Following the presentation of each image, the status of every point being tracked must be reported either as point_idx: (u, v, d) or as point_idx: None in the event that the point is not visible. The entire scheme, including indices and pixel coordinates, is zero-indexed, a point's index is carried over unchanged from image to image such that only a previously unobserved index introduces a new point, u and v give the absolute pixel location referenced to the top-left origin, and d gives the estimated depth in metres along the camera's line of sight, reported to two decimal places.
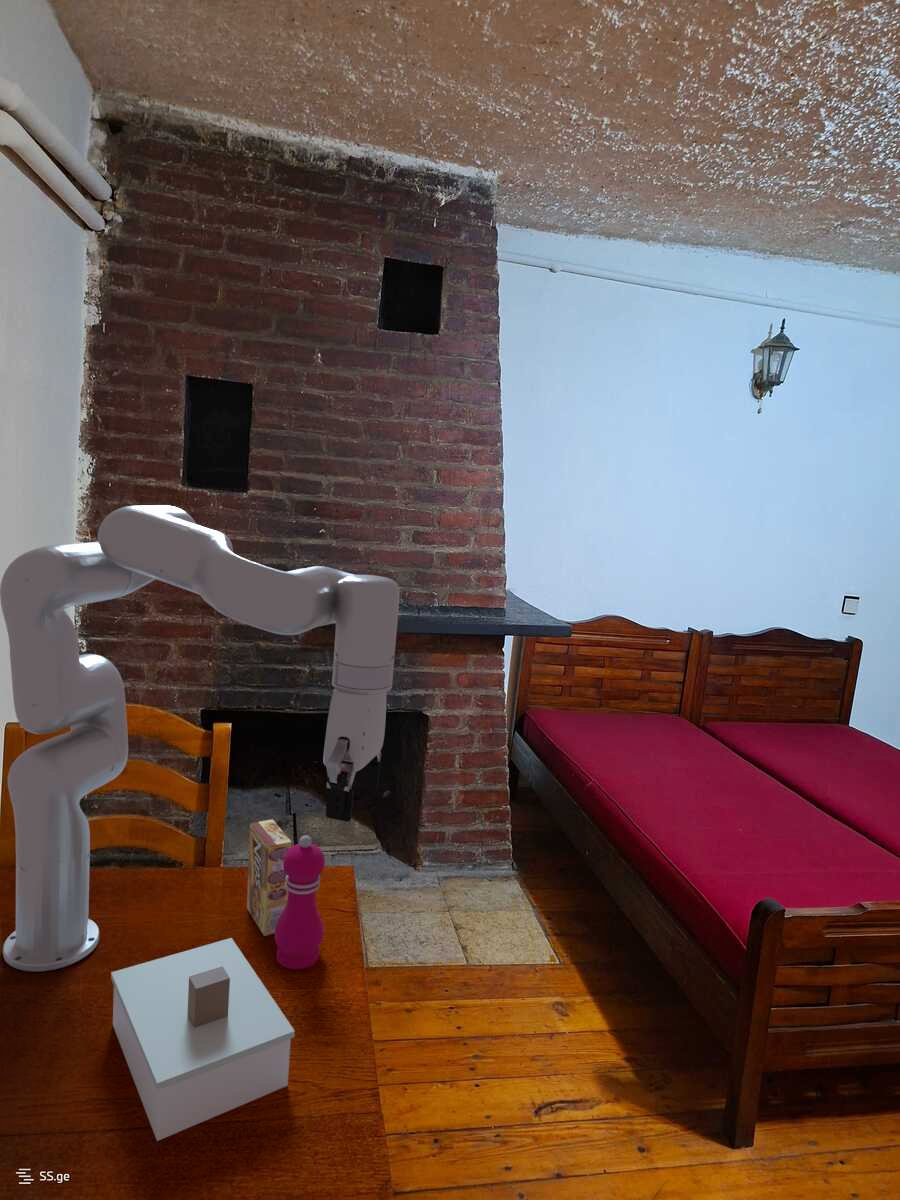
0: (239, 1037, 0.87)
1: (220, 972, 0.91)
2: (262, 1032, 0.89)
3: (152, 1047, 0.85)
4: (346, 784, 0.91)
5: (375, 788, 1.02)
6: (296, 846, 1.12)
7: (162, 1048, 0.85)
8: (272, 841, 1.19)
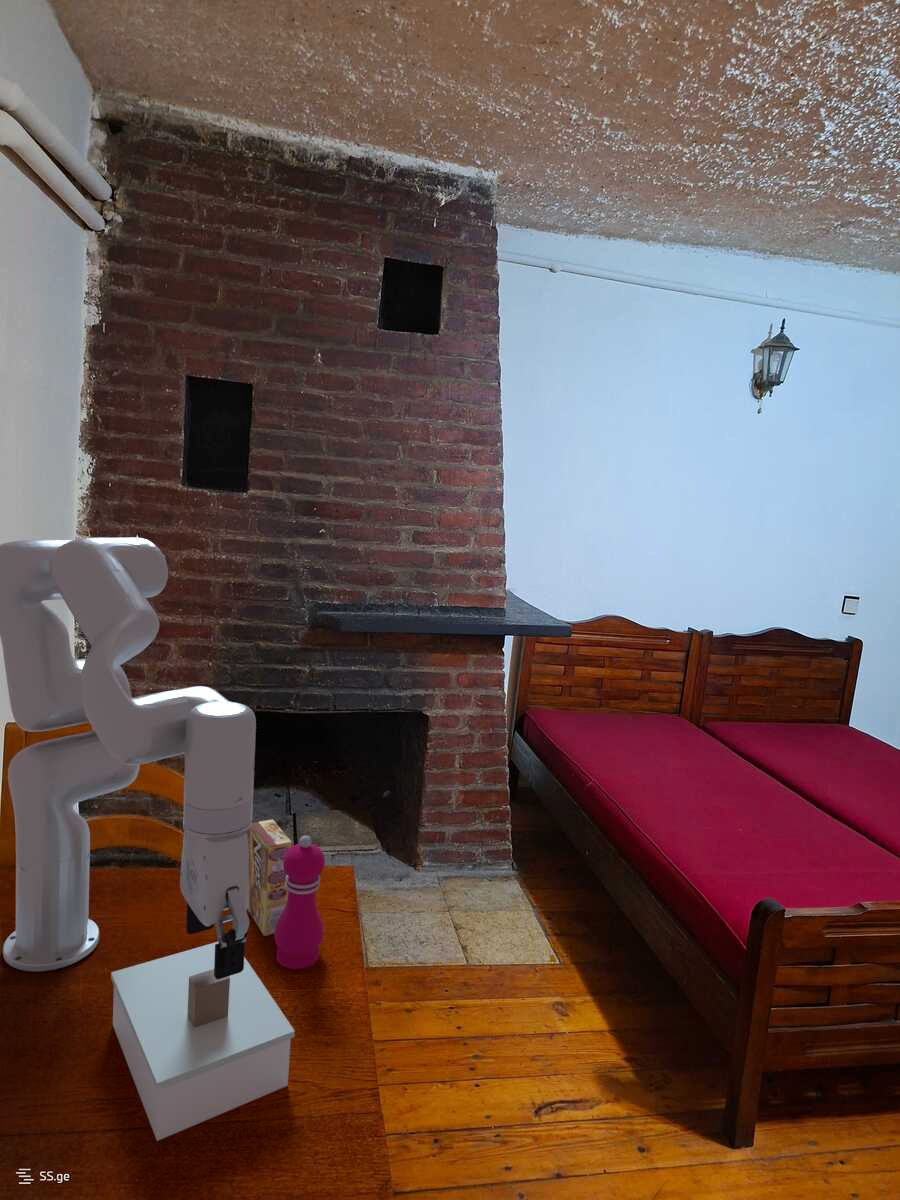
0: (239, 1037, 0.87)
1: None
2: (262, 1032, 0.89)
3: (152, 1047, 0.85)
4: None
5: (213, 924, 0.93)
6: (296, 846, 1.12)
7: (162, 1048, 0.85)
8: (272, 841, 1.19)
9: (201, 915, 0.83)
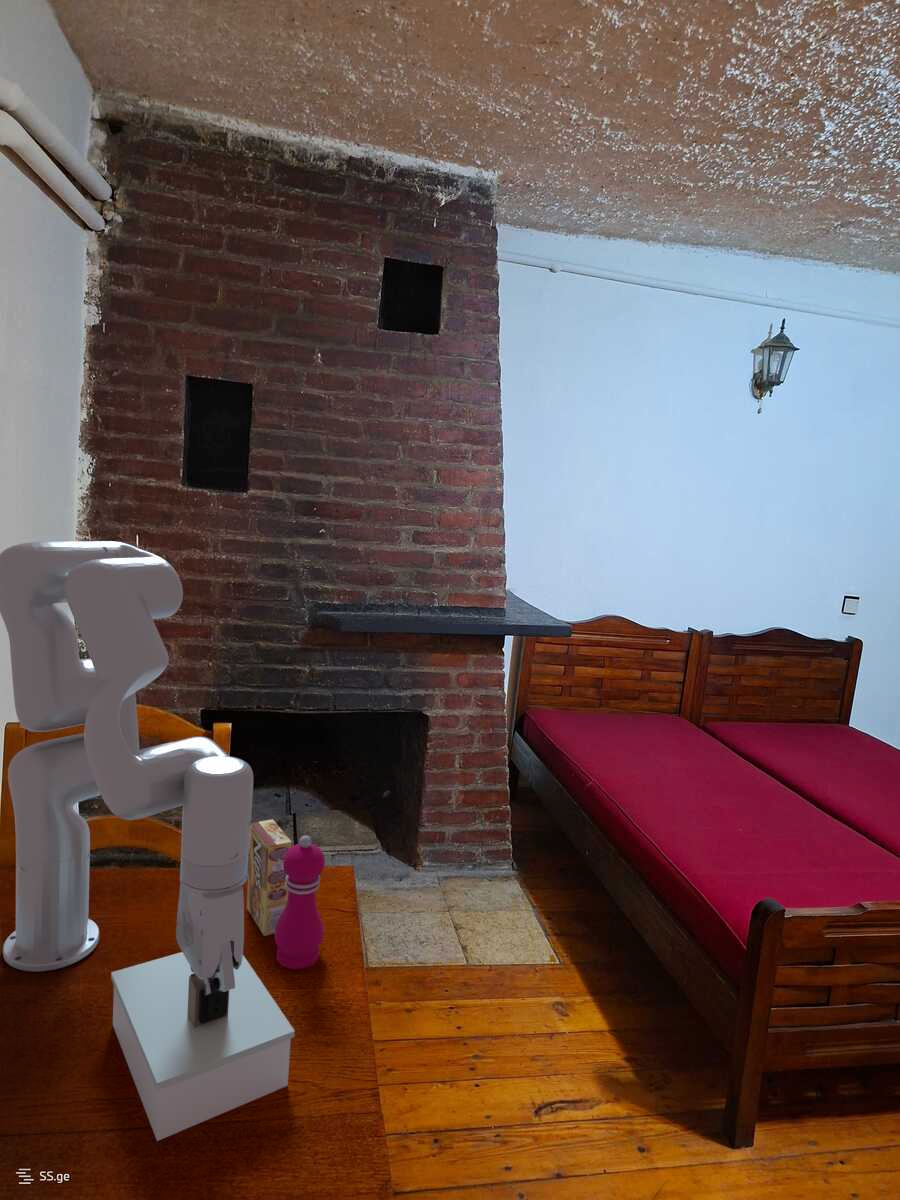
0: (239, 1037, 0.87)
1: None
2: (262, 1032, 0.89)
3: (152, 1047, 0.85)
4: None
5: None
6: (296, 846, 1.12)
7: (162, 1048, 0.85)
8: (272, 841, 1.19)
9: (196, 968, 0.85)
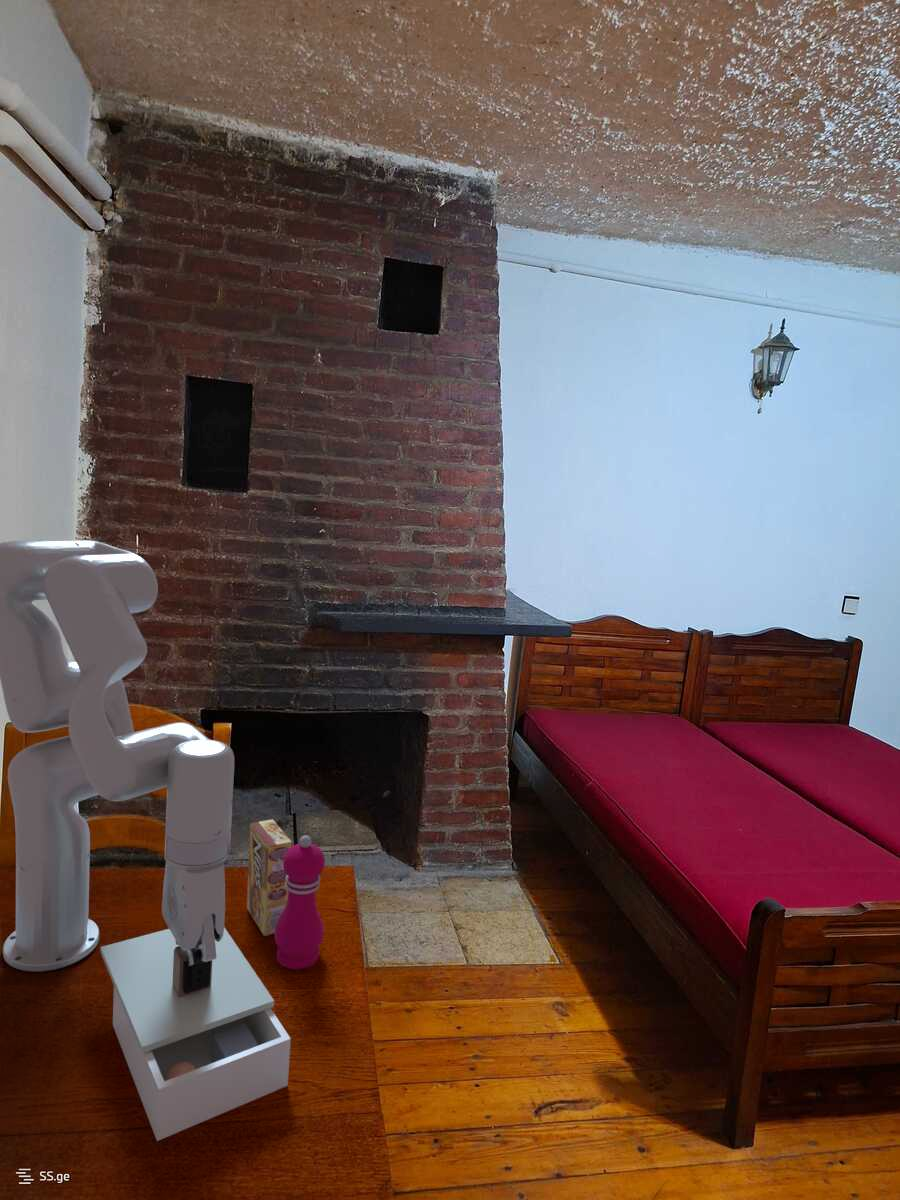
0: (221, 1006, 0.92)
1: None
2: (243, 1002, 0.93)
3: (138, 1014, 0.89)
4: None
5: None
6: (296, 846, 1.12)
7: (147, 1015, 0.89)
8: (272, 841, 1.19)
9: (180, 940, 0.89)
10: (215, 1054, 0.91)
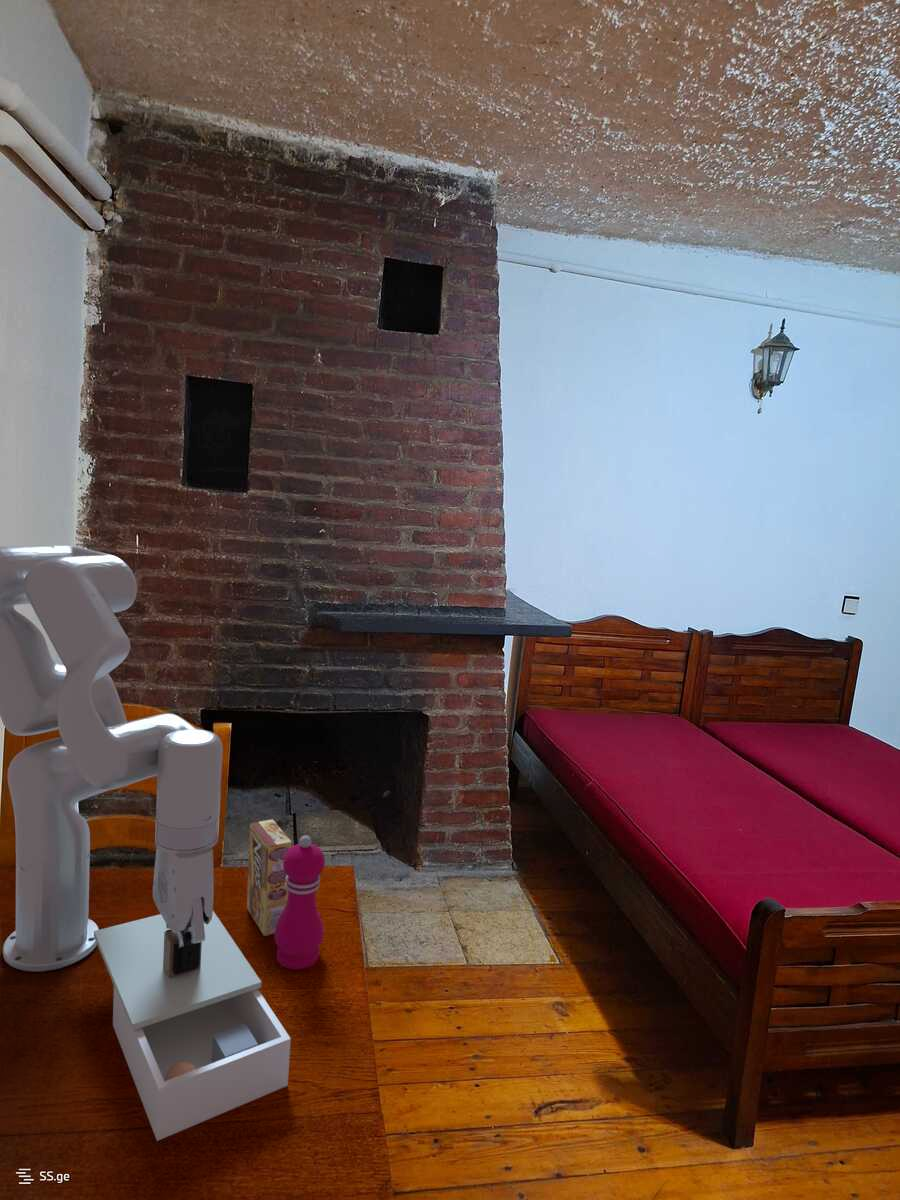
0: (210, 987, 0.95)
1: None
2: (231, 982, 0.96)
3: (129, 994, 0.93)
4: None
5: None
6: (296, 846, 1.12)
7: (138, 995, 0.93)
8: (272, 841, 1.19)
9: (170, 922, 0.93)
10: (215, 1054, 0.91)
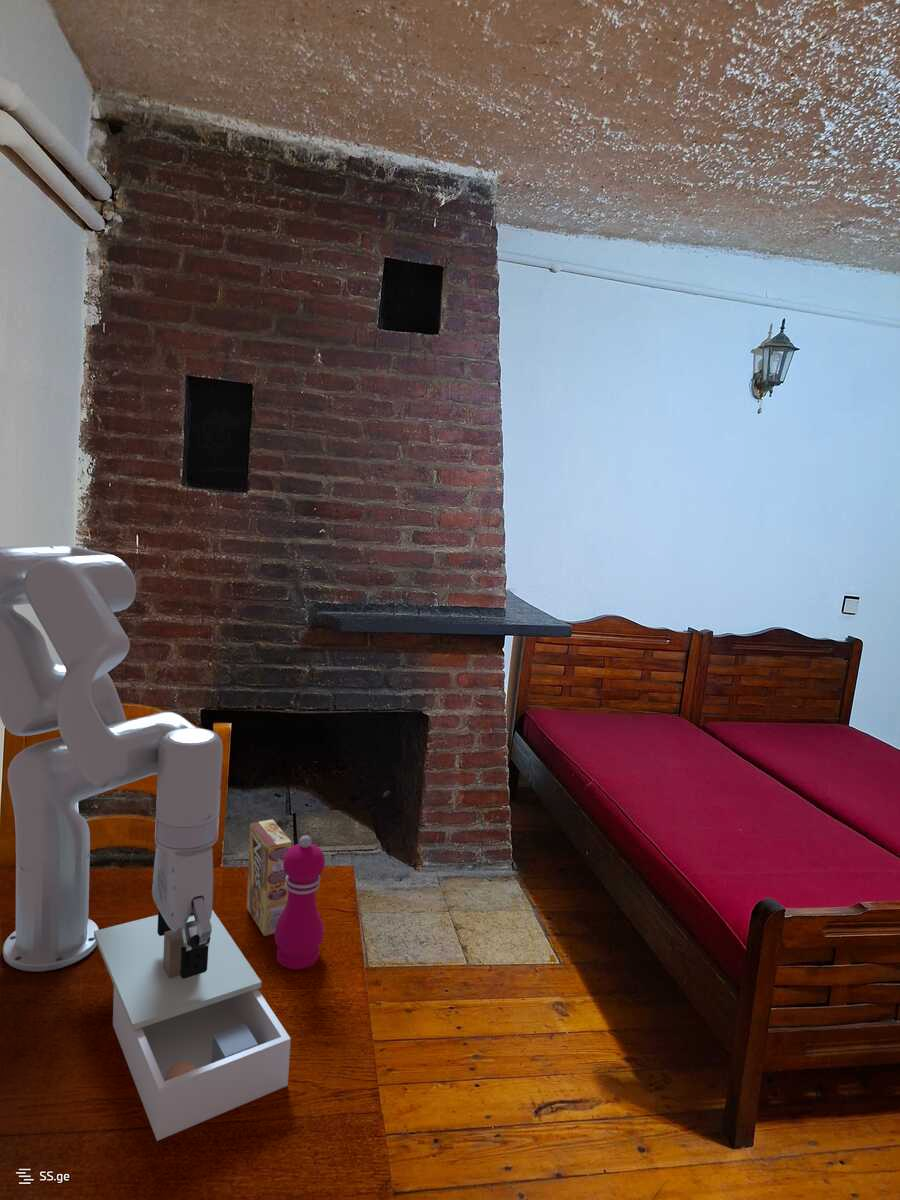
0: (210, 986, 0.95)
1: (193, 929, 0.98)
2: (231, 982, 0.96)
3: (129, 994, 0.93)
4: None
5: None
6: (296, 846, 1.12)
7: (138, 995, 0.93)
8: (272, 841, 1.19)
9: (169, 921, 0.93)
10: (215, 1054, 0.91)
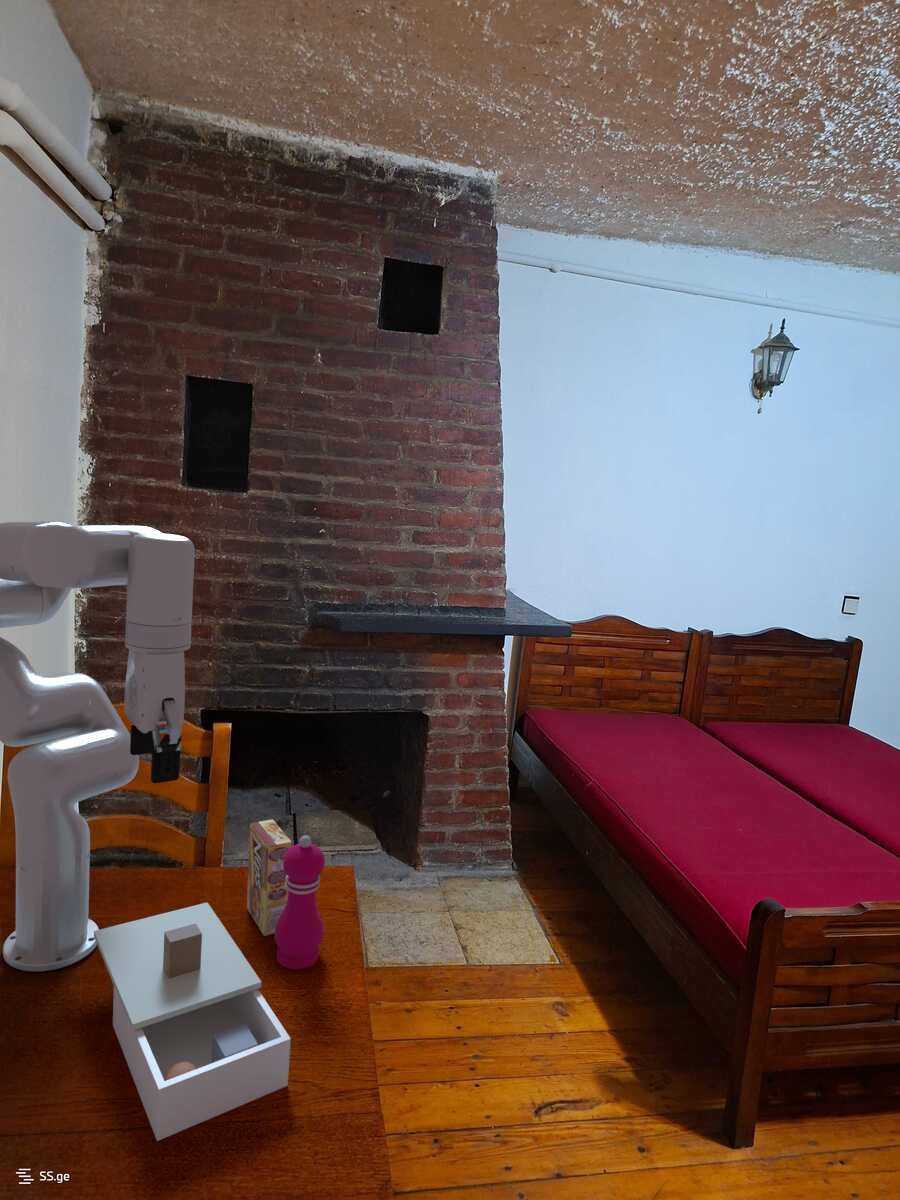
0: (210, 986, 0.95)
1: (193, 929, 0.98)
2: (231, 982, 0.96)
3: (129, 994, 0.93)
4: None
5: None
6: (296, 846, 1.12)
7: (138, 995, 0.93)
8: (272, 841, 1.19)
9: (139, 723, 0.91)
10: (215, 1054, 0.91)
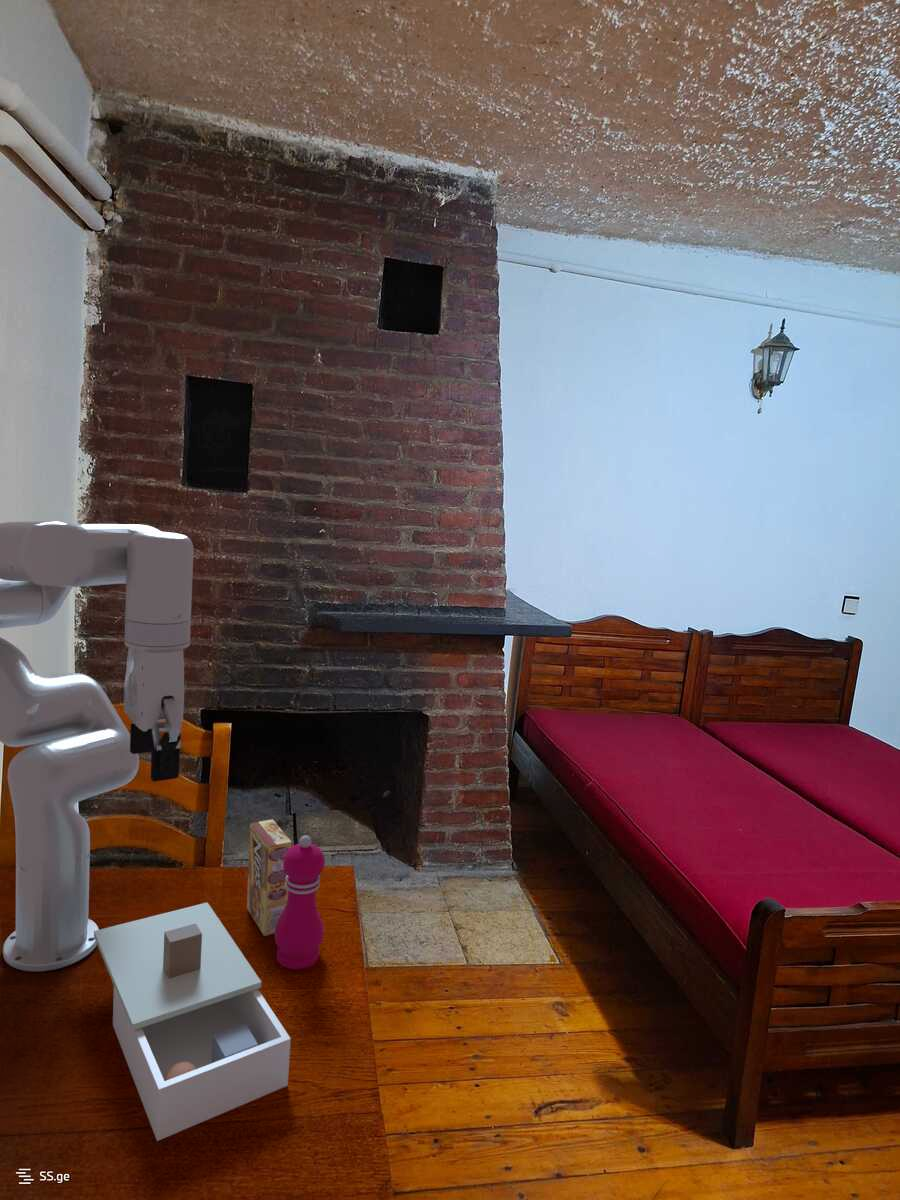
0: (210, 986, 0.95)
1: (193, 929, 0.98)
2: (231, 982, 0.96)
3: (129, 994, 0.93)
4: None
5: (155, 747, 1.01)
6: (296, 846, 1.12)
7: (138, 995, 0.93)
8: (272, 841, 1.19)
9: (139, 721, 0.91)
10: (215, 1054, 0.91)
